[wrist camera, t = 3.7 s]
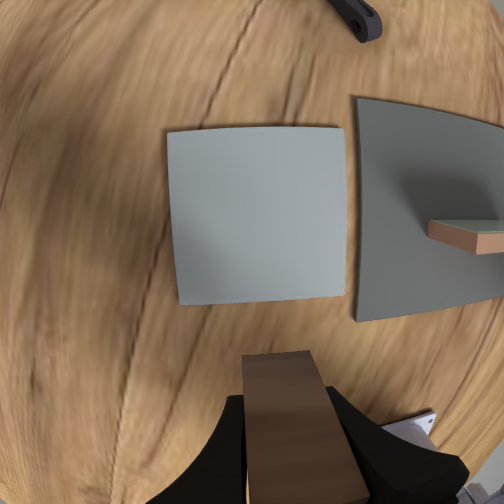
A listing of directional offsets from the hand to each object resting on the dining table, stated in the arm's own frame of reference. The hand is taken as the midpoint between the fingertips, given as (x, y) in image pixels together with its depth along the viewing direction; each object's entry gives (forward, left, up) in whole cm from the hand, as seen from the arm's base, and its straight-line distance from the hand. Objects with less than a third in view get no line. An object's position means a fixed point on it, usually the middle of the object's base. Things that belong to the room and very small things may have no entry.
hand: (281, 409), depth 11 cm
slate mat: (+7, -15, -8) cm, 18 cm away
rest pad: (+7, 0, -8) cm, 10 cm away
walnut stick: (0, 0, -2) cm, 2 cm away
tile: (+6, -15, -7) cm, 18 cm away
